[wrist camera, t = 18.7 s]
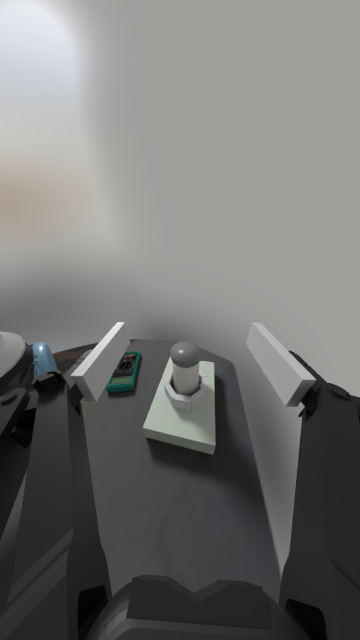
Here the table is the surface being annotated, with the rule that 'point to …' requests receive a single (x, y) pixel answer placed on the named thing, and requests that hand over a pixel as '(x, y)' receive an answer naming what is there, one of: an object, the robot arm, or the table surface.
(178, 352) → the white grey-capped cylinder
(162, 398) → the octagonal ring base plate
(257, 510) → the table surface
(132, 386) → the digital multimeter
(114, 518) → the table surface
